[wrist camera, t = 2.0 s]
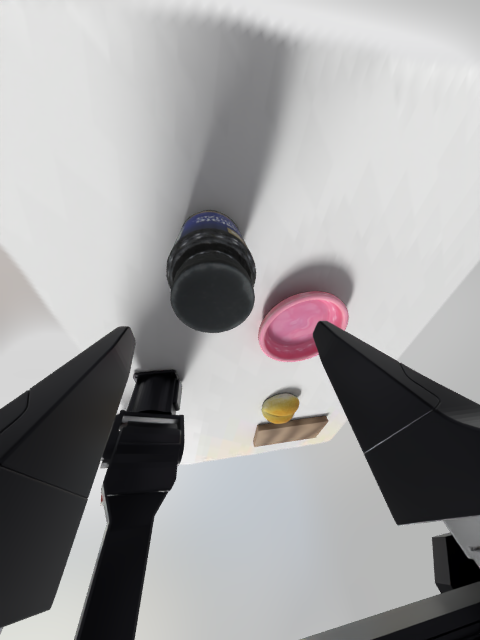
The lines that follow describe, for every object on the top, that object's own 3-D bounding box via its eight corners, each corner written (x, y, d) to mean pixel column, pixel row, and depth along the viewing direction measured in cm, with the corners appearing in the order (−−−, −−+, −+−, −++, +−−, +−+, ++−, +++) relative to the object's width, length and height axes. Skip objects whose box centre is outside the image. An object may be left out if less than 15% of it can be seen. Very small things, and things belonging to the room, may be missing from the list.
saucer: (302, 354, 33) (309, 368, 31) (240, 339, 28) (244, 355, 26) (354, 299, 27) (369, 312, 24) (285, 268, 22) (295, 280, 19)
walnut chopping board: (253, 441, 57) (254, 447, 56) (257, 425, 49) (258, 431, 48) (313, 432, 60) (315, 437, 59) (325, 415, 52) (328, 421, 51)
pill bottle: (249, 223, 18) (288, 270, 10) (229, 278, 21) (244, 348, 13) (186, 197, 16) (163, 226, 8) (174, 262, 19) (150, 332, 11)
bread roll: (300, 390, 41) (308, 408, 38) (288, 409, 47) (294, 426, 44) (265, 392, 40) (270, 411, 37) (257, 412, 45) (261, 429, 42)
